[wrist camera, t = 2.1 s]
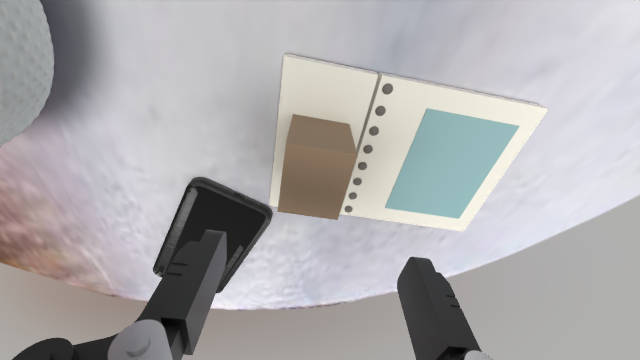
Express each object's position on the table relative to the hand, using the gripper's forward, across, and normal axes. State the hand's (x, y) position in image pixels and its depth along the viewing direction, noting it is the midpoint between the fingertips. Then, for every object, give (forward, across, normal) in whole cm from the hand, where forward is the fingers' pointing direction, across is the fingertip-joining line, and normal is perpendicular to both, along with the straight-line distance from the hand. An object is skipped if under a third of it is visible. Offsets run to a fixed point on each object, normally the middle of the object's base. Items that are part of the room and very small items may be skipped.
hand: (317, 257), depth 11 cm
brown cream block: (+11, 0, 0) cm, 11 cm away
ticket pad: (+11, -9, 0) cm, 14 cm away
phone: (+12, +9, +13) cm, 20 cm away
